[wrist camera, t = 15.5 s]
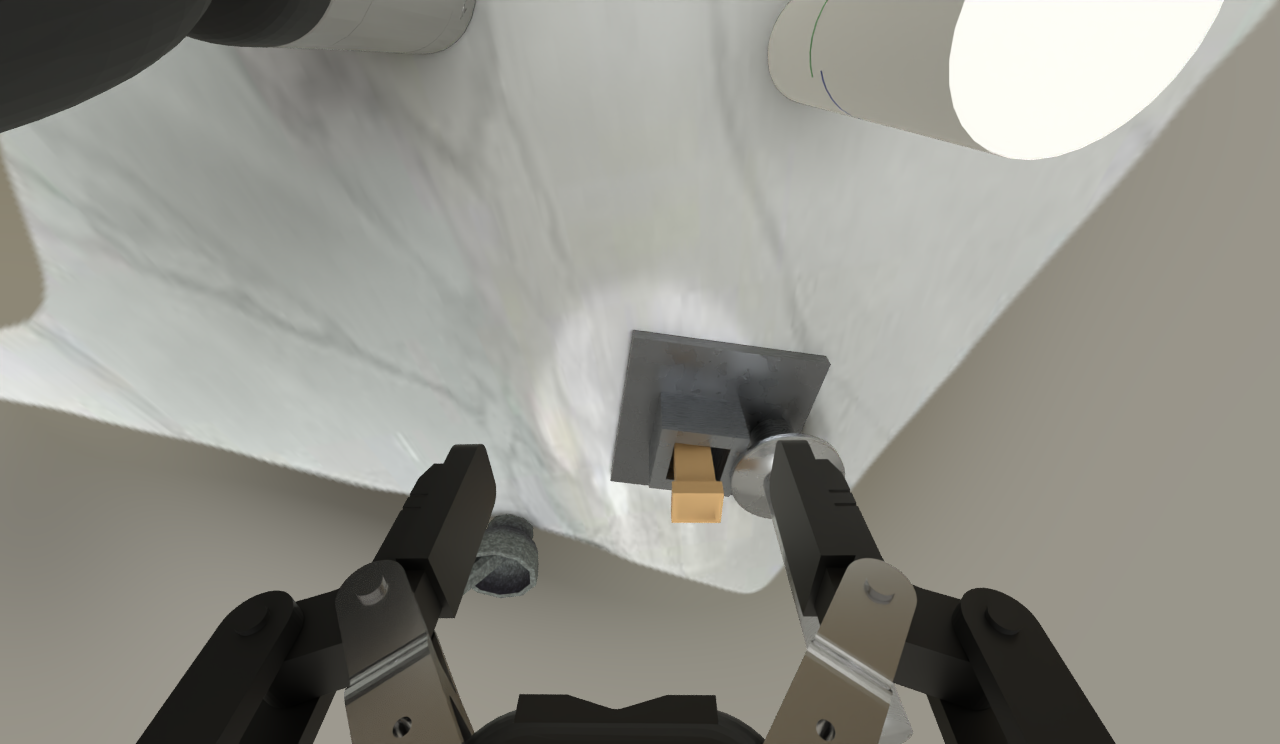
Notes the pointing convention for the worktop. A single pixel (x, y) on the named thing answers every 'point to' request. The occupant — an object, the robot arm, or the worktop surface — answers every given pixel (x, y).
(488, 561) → the mortar and pestle
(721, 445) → the grey fixture with cylinder
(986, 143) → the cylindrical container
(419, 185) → the worktop surface
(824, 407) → the worktop surface
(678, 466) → the orange square peg
